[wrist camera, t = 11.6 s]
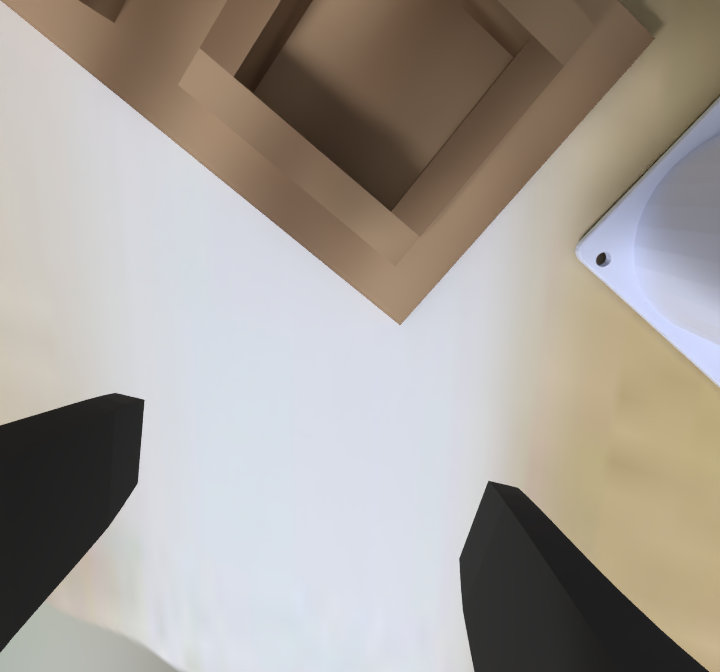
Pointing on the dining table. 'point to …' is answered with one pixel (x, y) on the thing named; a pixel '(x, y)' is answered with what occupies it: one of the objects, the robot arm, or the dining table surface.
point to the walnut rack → (359, 109)
